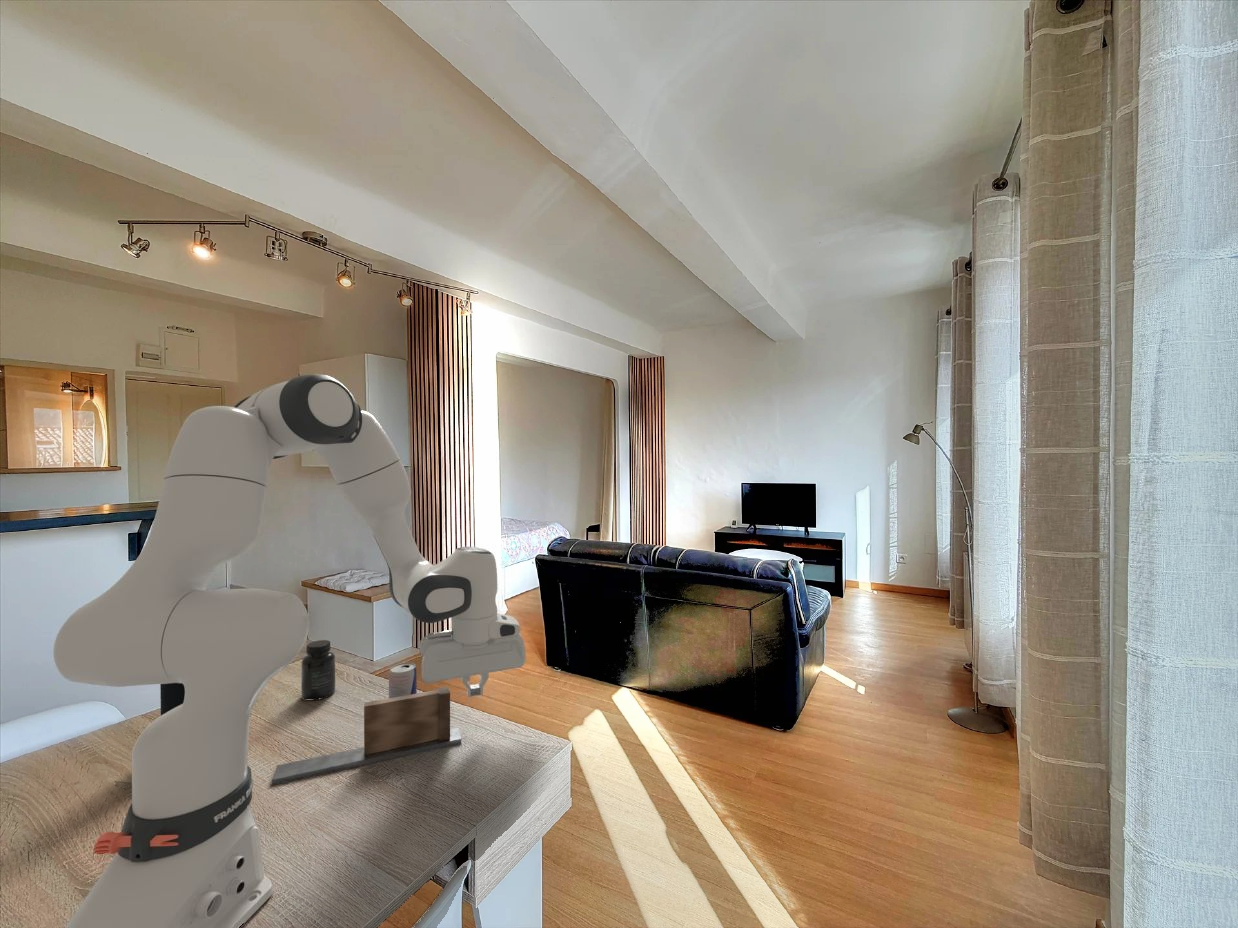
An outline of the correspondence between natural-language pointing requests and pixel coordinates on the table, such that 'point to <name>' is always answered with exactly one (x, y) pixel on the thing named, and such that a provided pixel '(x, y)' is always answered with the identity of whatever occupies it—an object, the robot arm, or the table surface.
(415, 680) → the energy drink
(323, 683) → the supplement bottle
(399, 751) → the screen rail
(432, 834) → the table surface
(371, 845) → the table surface
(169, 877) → the robot arm
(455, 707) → the table surface
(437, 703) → the walnut screen
